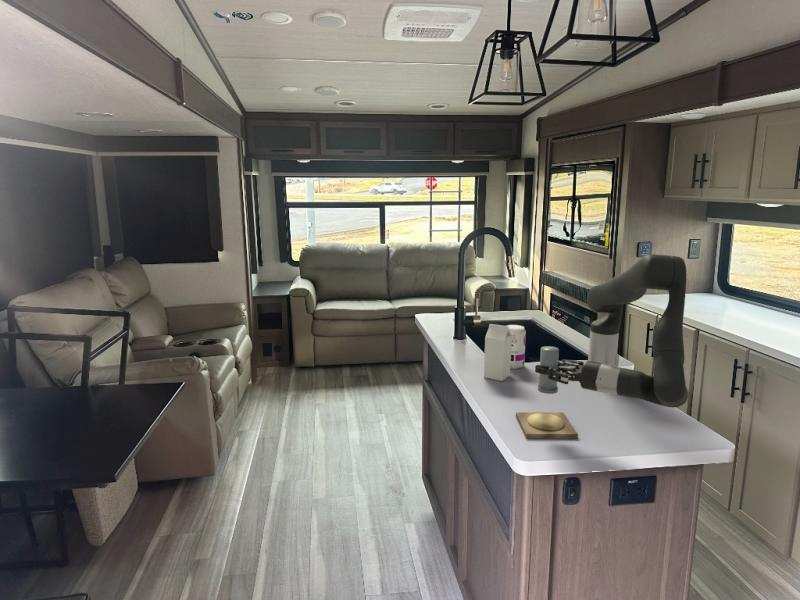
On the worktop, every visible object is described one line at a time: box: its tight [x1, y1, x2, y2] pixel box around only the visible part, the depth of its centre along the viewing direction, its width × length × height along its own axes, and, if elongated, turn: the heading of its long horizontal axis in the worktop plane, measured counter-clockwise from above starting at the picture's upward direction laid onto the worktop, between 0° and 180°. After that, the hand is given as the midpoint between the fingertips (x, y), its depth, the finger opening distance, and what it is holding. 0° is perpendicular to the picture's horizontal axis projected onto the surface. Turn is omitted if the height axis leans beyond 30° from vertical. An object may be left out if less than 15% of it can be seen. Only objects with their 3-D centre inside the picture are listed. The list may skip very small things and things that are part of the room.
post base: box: [515, 411, 579, 439], centre depth 154 cm, size 14×14×2 cm
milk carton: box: [483, 323, 512, 382], centre depth 191 cm, size 7×7×19 cm
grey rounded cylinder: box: [537, 345, 560, 395], centre depth 150 cm, size 5×5×12 cm
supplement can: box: [506, 324, 527, 370], centre depth 203 cm, size 8×8×15 cm
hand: (539, 365), depth 152 cm, fingers closed on grey rounded cylinder, 4 cm apart
